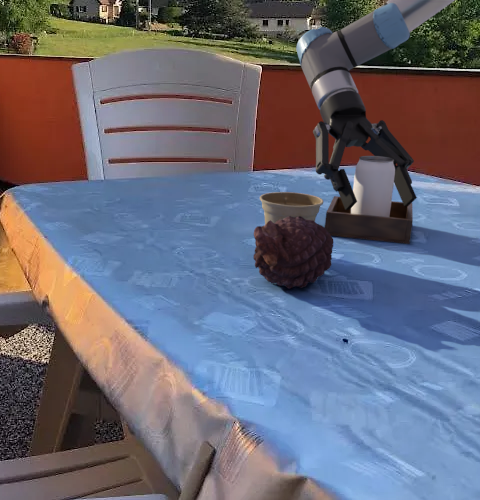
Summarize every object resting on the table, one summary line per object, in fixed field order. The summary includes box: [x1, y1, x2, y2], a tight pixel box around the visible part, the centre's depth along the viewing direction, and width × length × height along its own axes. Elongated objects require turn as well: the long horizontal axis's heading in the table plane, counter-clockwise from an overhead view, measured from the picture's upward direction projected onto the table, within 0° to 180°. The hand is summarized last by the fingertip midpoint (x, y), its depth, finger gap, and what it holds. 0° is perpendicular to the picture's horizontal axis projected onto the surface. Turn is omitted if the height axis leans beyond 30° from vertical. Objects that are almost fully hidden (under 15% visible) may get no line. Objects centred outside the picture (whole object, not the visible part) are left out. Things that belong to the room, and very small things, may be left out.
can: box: [351, 155, 395, 217], centre depth 122 cm, size 6×6×12 cm
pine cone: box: [253, 216, 334, 290], centre depth 95 cm, size 18×10×10 cm
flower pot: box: [259, 191, 324, 225], centre depth 108 cm, size 9×9×9 cm
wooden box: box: [324, 195, 414, 245], centre depth 123 cm, size 14×14×4 cm
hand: (381, 204), depth 120 cm, fingers open, 11 cm apart
